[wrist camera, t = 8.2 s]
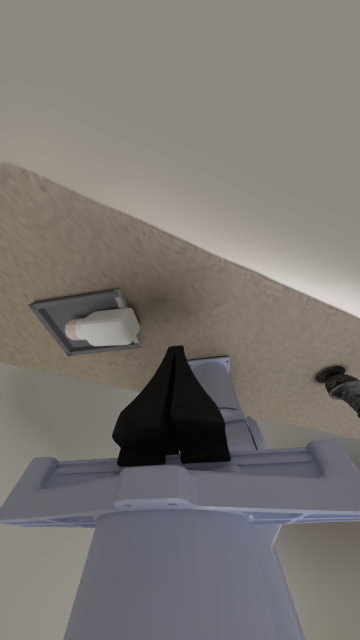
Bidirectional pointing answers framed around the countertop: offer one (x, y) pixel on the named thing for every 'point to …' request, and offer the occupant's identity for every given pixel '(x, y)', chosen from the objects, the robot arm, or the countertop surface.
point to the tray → (76, 307)
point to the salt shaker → (341, 386)
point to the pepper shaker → (105, 327)
